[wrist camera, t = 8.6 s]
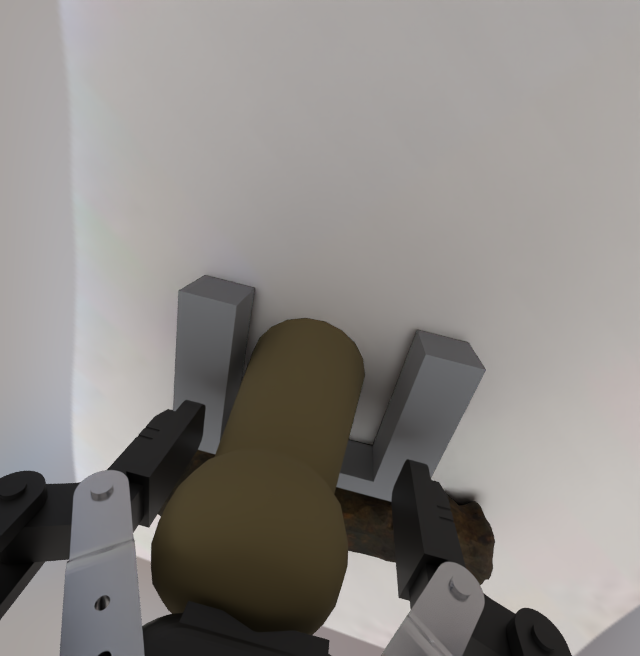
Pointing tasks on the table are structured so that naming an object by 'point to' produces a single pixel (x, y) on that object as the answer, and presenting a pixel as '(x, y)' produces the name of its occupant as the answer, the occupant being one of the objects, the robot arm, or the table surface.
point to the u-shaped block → (360, 459)
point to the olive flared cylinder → (269, 490)
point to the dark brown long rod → (377, 525)
